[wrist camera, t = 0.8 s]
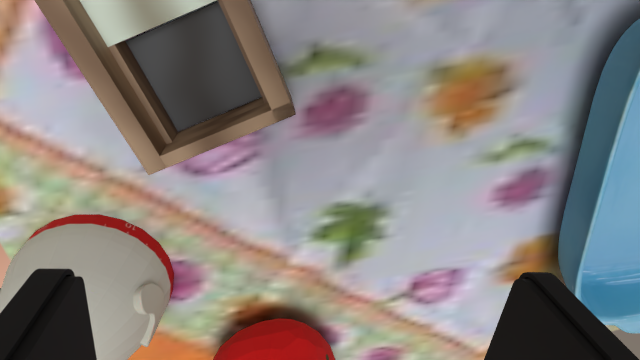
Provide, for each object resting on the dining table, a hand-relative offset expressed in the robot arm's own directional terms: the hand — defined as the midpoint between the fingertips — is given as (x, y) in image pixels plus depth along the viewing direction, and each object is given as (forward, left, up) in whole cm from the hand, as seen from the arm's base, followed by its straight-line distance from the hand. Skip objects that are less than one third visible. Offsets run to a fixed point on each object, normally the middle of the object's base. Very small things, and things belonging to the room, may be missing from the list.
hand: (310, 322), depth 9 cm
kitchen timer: (+23, +11, -28) cm, 38 cm away
